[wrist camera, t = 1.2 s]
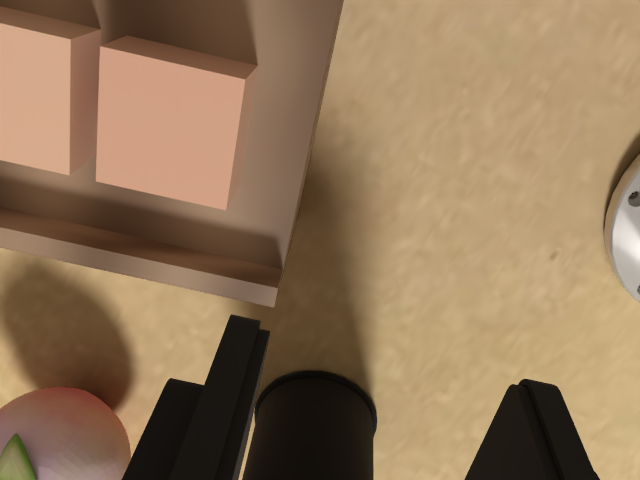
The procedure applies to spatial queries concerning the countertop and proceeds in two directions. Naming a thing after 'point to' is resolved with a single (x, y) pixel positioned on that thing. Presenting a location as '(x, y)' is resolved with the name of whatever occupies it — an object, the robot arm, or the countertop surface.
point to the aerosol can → (312, 430)
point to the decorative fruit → (61, 437)
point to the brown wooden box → (176, 215)
